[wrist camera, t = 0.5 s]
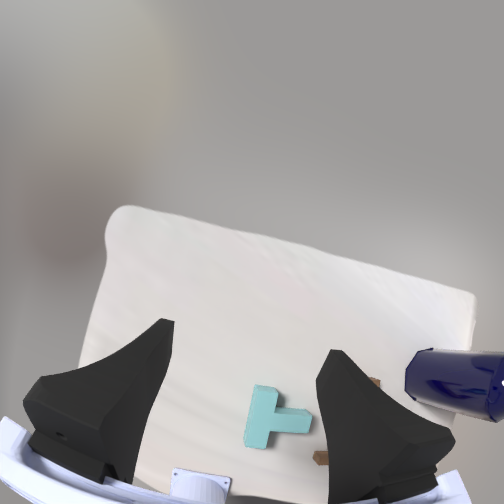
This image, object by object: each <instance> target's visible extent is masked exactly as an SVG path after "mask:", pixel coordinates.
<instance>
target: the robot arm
mask: <svg viewBox="0 0 504 504" xmlns="http://www.w3.org/2000/svg"><path fill="white" fill-rule="evenodd" d="M174 322H175V321H171V320H167V319H163V318H161V319H159V320H158V321H157V322H156V323H154V324H153V325H152V326H151V327H150V328H149V329H147V330H146V331H145V332H144V333H142V334H141V335H140V336H139V337H137V338H136V339H135V340H133V341H132V342H130V343H129V344H127V345H126V346H124V347H123V348H121V349H120V350H118V351H117V352H115V353H113V354H112V355H110V356H108V357H106V358H104V359H102V360H100V361H97V362H95V363H93V364H90V365H88V366H85V367H82V368H79V369H76V370H72V371H69V372H65V373H60V374H54V375H48V376H42V377H40V378H39V379H38V381H37V382H36V383H35V384H34V385H33V387H32V388H31V390H30V391H29V393H28V394H27V395H26V397H25V398H24V400H23V406H24V408H25V411H26V413H27V415H28V417H29V419H30V421H31V422H32V424H33V426H34V428H35V429H36V430H35V432H34V433H33V435H31V434H30V433H29V432H28V431H27V430H26V429H25V428H23V427H21V426H20V425H18V424H17V423H15V422H13V421H12V420H11V419H9V418H8V417H4V418H3V419H2V421H1V422H0V480H1V481H2V482H3V483H4V484H6V485H7V486H8V487H10V488H11V489H13V490H14V491H15V492H17V493H18V494H20V495H22V496H23V497H24V498H26V499H27V500H29V501H30V502H32V503H34V504H225V501H226V497H227V493H228V489H229V485H230V478H229V477H224V476H217V475H210V474H204V473H198V472H193V471H188V470H183V469H178V468H174V469H173V472H172V480H171V488H170V495H166V494H162V493H158V492H154V491H151V490H147V489H144V488H140V487H137V486H133V485H132V482H133V476H134V471H135V466H136V462H137V457H138V453H139V449H140V445H141V441H142V437H143V433H144V430H145V426H146V422H147V419H148V416H149V413H150V410H151V408H152V406H153V403H154V401H155V399H156V396H157V394H158V392H159V389H160V387H161V385H162V382H163V380H164V378H165V375H166V372H167V369H168V366H169V362H170V359H171V355H172V343H173V332H174ZM316 390H317V399H318V403H319V408H320V412H321V416H322V421H323V425H324V429H325V433H326V439H327V447H328V459H329V497H328V504H472V503H471V500H470V498H469V496H468V493H467V491H466V489H465V486H464V484H463V482H462V480H461V478H460V475H459V473H458V471H457V470H456V469H455V470H452V471H449V472H447V473H444V474H441V475H440V476H438V477H435V475H434V473H435V472H436V471H437V468H436V464H437V463H438V462H439V461H440V460H441V459H442V458H444V457H445V456H446V455H447V454H448V453H449V452H450V451H451V450H452V448H453V446H454V444H455V439H454V437H453V435H452V433H451V431H450V429H449V428H447V427H444V426H441V425H439V424H436V423H433V422H431V421H429V420H427V419H425V418H422V417H420V416H419V415H417V414H415V413H413V412H411V411H410V410H408V409H407V408H405V407H403V406H402V405H400V404H399V403H398V402H396V401H395V400H394V399H392V398H391V397H390V396H388V395H387V394H386V393H385V392H384V391H382V390H381V389H380V388H379V387H378V386H377V385H376V384H375V383H374V382H373V381H372V380H371V379H370V378H369V377H368V376H367V375H366V374H365V373H364V372H363V371H362V370H361V369H360V368H359V367H358V366H357V365H356V364H355V363H354V362H353V361H352V360H351V359H350V358H349V357H348V356H347V355H346V354H345V353H344V352H343V351H342V350H333V349H331V350H330V352H329V354H328V356H327V358H326V360H325V362H324V364H323V366H322V368H321V370H320V372H319V374H318V376H317V378H316ZM175 473H177V474H175ZM225 482H228V483H225Z"/></svg>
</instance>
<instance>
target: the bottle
mask: <svg viewBox="0 0 504 504" xmlns="http://www.w3.org/2000/svg"><path fill="white" fill-rule="evenodd" d="M404 391H405V392H406V393H407V394H408V395H409V396H410V397H411V398H412V399H413V400H414V401H419V402H422V403H425V404H428V405H432V406H435V407H438V408H442V409H445V410H448V411H452V412H455V413H459V414H463V415H467V416H470V417H474V418H478V419H482V420H486V421H490V422H495V423H497V422H499V421H500V420H502V419H504V352H487V351H462V350H445V349H433V348H430V349H426V350H421V351H418V352H417V353H416V355H415V356H414V358H413V359H412V361H411V362H410V364H409V365H408V367H407V368H406V373H405V390H404Z"/></svg>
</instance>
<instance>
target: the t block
mask: <svg viewBox="0 0 504 504" xmlns="http://www.w3.org/2000/svg"><path fill="white" fill-rule="evenodd" d="M277 398H278V392H277V391H276V389H275V388H274V387H268V386H261V385H255V386H254V391H253V396H252V400H251V405H250V410H249V414H248V419H247V424H246V428H245V433H244V437H243V438H244V443H245V447H250V448H260V449H265V448H266V444H267V440H268V436H269V432H270V431H277V432H292V433H308V432H309V428H310V424H311V420H312V415H311V414H310V413H309V412H308V411H307V410H306V409H293V408H282V407H276V402H277Z"/></svg>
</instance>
